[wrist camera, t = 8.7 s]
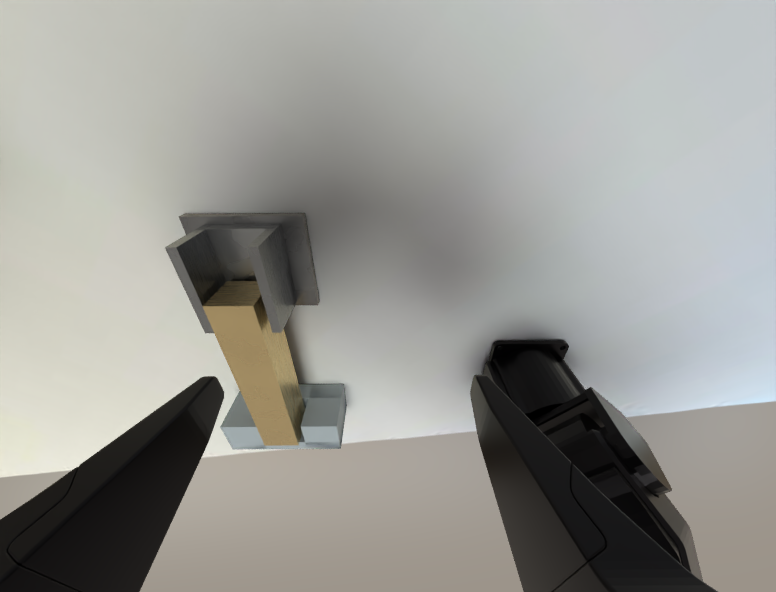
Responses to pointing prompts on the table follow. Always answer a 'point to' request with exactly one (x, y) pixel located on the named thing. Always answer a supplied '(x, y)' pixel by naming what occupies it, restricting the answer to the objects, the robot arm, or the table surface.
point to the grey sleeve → (247, 260)
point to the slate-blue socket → (317, 425)
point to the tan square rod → (258, 361)
